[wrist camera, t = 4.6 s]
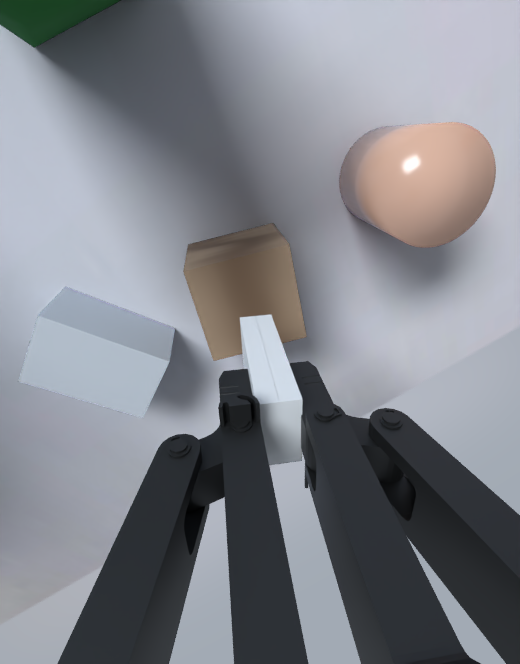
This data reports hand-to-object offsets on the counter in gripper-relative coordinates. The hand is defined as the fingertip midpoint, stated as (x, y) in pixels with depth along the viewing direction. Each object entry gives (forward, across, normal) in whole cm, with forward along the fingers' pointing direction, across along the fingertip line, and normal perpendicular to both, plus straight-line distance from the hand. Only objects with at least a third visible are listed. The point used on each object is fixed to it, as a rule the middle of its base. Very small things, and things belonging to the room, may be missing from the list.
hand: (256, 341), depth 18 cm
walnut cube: (+10, 0, 0) cm, 10 cm away
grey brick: (+10, -10, -4) cm, 15 cm away
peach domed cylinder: (+10, +10, +6) cm, 16 cm away
